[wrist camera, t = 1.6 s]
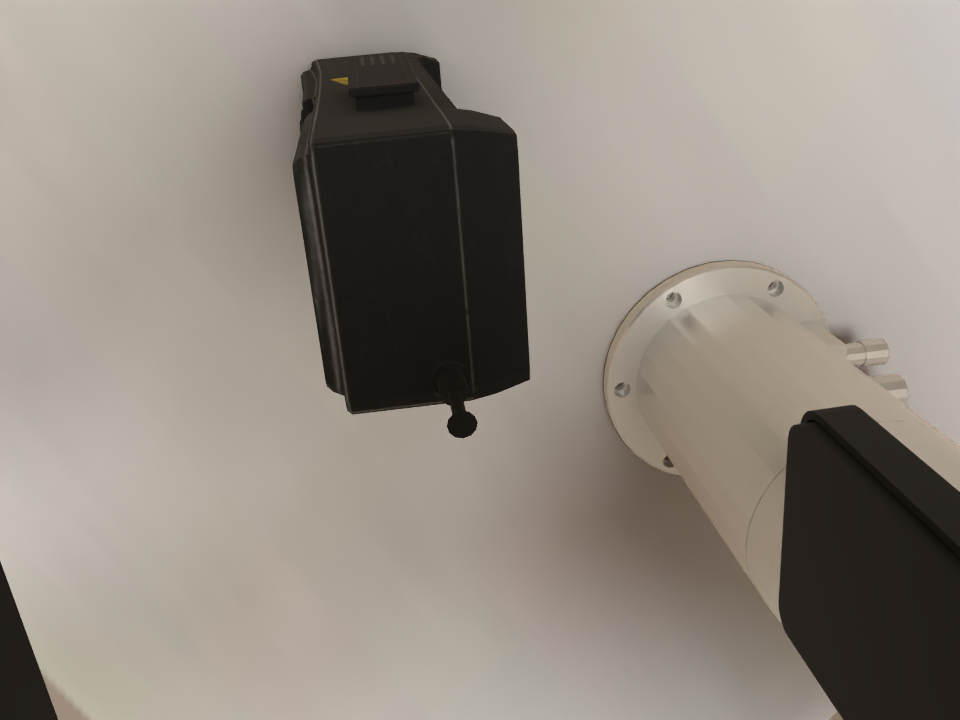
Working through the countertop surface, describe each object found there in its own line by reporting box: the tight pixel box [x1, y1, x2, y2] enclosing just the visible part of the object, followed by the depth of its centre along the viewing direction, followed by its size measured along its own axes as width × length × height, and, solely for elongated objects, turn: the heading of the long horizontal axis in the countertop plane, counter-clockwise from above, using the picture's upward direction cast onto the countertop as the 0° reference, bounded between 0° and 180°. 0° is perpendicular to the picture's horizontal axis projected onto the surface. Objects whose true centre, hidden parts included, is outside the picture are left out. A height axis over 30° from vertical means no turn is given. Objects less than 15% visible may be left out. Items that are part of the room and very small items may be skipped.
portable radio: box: [293, 52, 530, 438], centre depth 30 cm, size 8×6×25 cm
